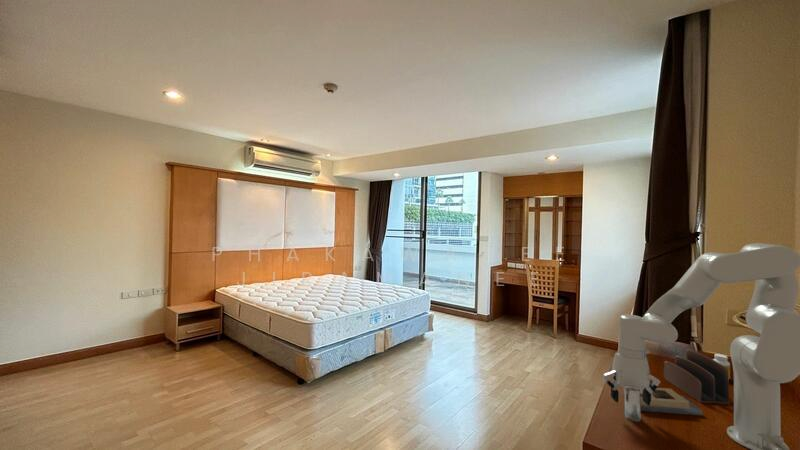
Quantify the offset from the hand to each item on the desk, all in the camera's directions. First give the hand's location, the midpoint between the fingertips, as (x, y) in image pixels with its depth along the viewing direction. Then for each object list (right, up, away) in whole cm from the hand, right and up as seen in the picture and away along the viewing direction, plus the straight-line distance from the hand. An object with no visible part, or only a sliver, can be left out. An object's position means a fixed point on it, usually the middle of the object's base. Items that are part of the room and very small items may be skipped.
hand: (630, 401), depth 112 cm
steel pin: (+1, -5, 0) cm, 5 cm away
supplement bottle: (+58, -5, +27) cm, 64 cm away
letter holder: (+38, -5, +18) cm, 42 cm away
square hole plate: (+16, -5, +7) cm, 18 cm away
